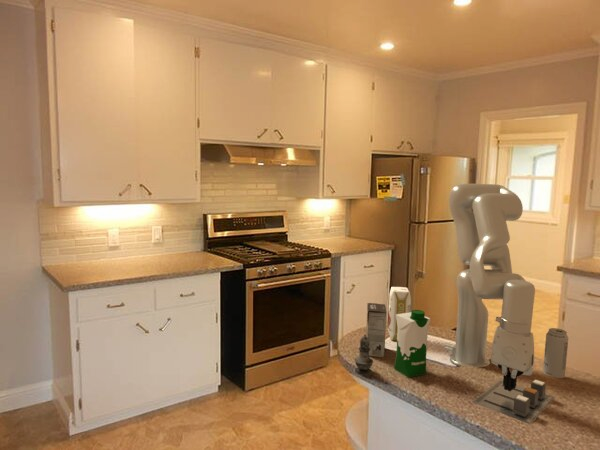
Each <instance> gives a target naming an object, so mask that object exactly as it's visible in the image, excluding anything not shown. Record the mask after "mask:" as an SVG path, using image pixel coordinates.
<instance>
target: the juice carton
mask: <svg viewBox="0 0 600 450" xmlns="http://www.w3.org/2000/svg"><path fill="white" fill-rule="evenodd" d="M388 295H389V297H388V314H387V315H388V317H387V318H388V319H387V330H388V335H389V340H390V341H397V334H398V326H397V320H396V314H403V313H410V312H411V311H412V310H411V309H412V296H411V292H410V290H409V289H408V287H405V286H404V287H403V286H391V288H390V291H389V294H388Z"/></svg>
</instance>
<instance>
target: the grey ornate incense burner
mask: <svg viewBox="0 0 600 450" xmlns="http://www.w3.org/2000/svg"><path fill="white" fill-rule="evenodd" d="M358 350H359V355H358V356H357V357H355V358H354V362H355V365H356V367H357V368H355V369H354V372H355V373H356V374H358V375H361V376H369V375H371V374H372V373H373V371H372V369H371V368H372V365H373V364H374V359H372V358H371V357H370V356H369V350H370V348H369V338H367V337H366V334H364V335H363V336H362V337H360V339H359V347H358Z"/></svg>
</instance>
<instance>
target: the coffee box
mask: <svg viewBox="0 0 600 450" xmlns="http://www.w3.org/2000/svg"><path fill="white" fill-rule="evenodd" d="M366 308H367V310H366V331H365V332H366V333H365V335H366V337H367V338H369V348H370V350H369V357H379V358H384V357H385V350H386V349H385V347H386V331H387V330H386V329H387V307H386V304H385V303H383V304H382V303H376V302H375V303H374V302H373V303H372V302H367V306H366Z"/></svg>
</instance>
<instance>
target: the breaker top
mask: <svg viewBox="0 0 600 450" xmlns="http://www.w3.org/2000/svg"><path fill="white" fill-rule="evenodd" d="M546 386H547V383H545V382H544V381H541V380H538V379H534V380H533V381H531V384H530V388H532V389H535V390H537V391H539V393H538V399H541V400H542V399H543V397H544V396H545V395H546V394H547V393H546V389H547V387H546Z"/></svg>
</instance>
